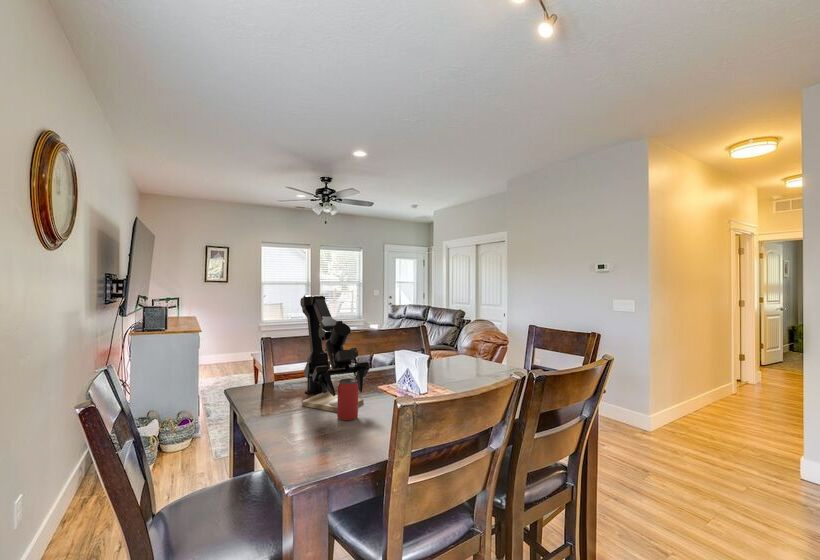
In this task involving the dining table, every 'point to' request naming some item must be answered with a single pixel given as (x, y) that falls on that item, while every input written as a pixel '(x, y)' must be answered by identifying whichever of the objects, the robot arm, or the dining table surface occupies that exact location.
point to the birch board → (325, 402)
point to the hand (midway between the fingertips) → (348, 393)
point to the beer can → (347, 399)
